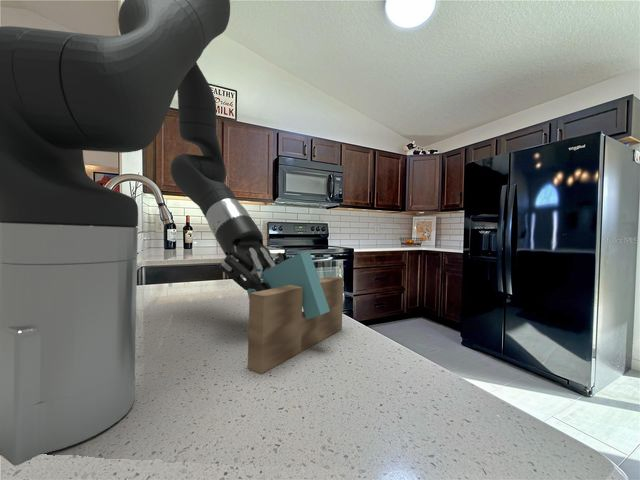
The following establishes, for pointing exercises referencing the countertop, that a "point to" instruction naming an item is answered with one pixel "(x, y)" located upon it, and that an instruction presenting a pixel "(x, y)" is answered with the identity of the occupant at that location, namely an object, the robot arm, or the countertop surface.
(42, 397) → the robot arm
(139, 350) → the countertop surface
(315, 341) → the u-shaped wooden block
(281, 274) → the teal l-shaped piece
